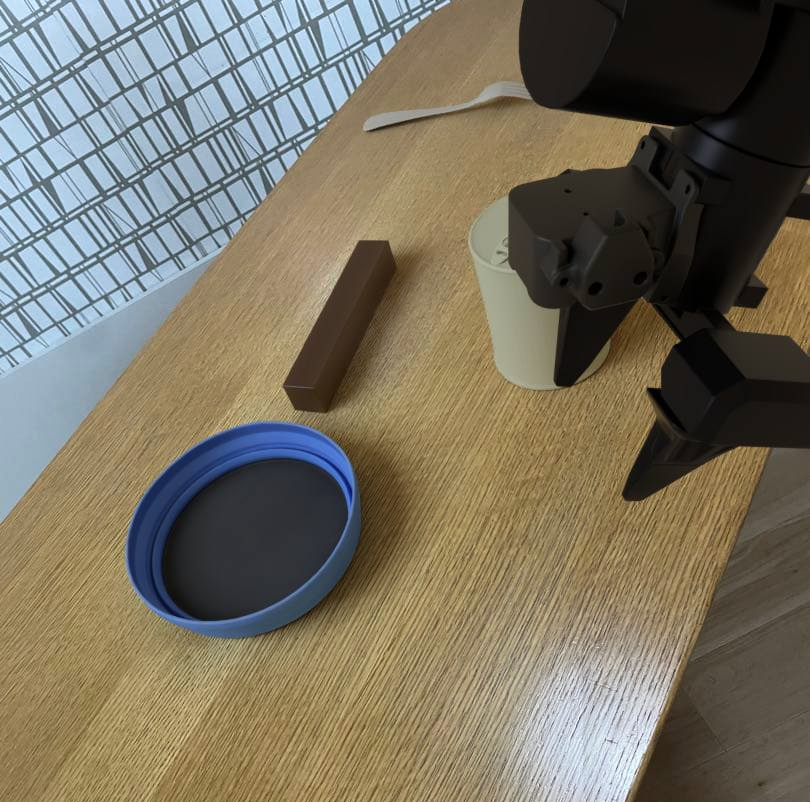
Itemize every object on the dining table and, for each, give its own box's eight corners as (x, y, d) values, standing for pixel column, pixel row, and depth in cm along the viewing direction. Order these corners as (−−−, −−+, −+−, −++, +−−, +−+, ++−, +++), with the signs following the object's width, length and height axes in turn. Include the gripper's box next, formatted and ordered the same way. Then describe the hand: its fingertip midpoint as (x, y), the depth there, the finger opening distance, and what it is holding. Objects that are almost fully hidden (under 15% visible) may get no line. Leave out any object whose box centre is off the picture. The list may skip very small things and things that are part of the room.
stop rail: (397, 266, 78) (388, 239, 75) (326, 413, 70) (314, 388, 67) (368, 266, 79) (358, 239, 77) (294, 410, 71) (281, 385, 68)
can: (471, 365, 68) (439, 243, 59) (540, 295, 71) (521, 166, 61) (563, 407, 63) (544, 281, 54) (634, 330, 66) (628, 197, 56)
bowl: (383, 438, 66) (370, 408, 64) (353, 644, 57) (337, 620, 54) (179, 457, 71) (158, 430, 68) (119, 651, 61) (92, 628, 58)
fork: (374, 139, 95) (365, 116, 93) (555, 91, 87) (549, 66, 85) (369, 154, 94) (360, 131, 92) (553, 107, 86) (547, 81, 84)
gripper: (493, 18, 37) (405, 327, 47) (693, 224, 25) (515, 576, 35) (701, 65, 40) (577, 341, 51) (962, 263, 28) (729, 570, 39)
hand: (594, 438), depth 44 cm, fingers open, 9 cm apart
